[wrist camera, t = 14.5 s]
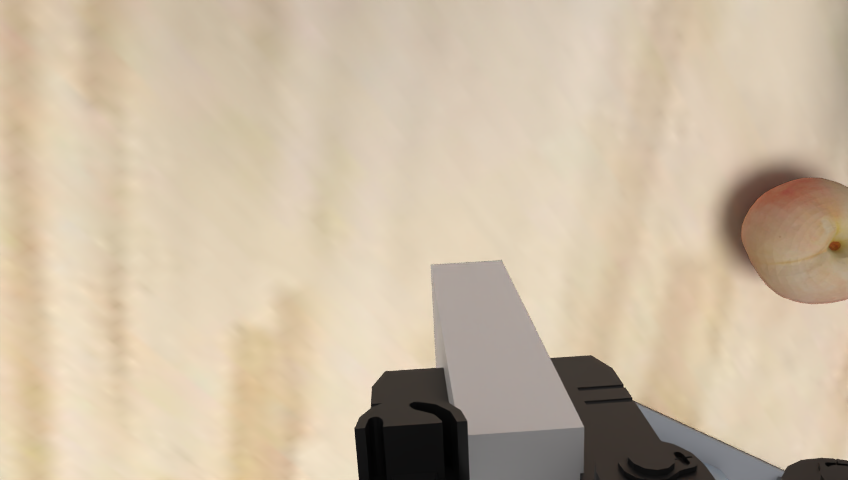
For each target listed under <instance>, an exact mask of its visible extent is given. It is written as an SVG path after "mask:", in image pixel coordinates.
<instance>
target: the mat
mask: <svg viewBox="0 0 848 480" xmlns="http://www.w3.org/2000/svg"><path fill="white" fill-rule="evenodd" d="M635 403H636V404H637V406H638V407H639V409H640V410H641V412H642V413H643V415H644V416H645V418H646V419H647V421H648V422H649V424H650V425H651V427H652V428H653V430H654V431H655V433H656V434H657V436H658V437H659V439H660V440H661V441H664V442H668V443H672V444H675V445H677V446H679V447H681V448H683V449H685V450H687V451H689V452H691V453H693V454H694V455H695V456H696V457H697V458H698V459H699V460H700V461H702V462H704V463H706V464H708V465H711V466H713V467H715V468H717V469H719V470H721V471H722V472H723V473H724V475H725V476H726V477H727V479H728V480H781V477H782V475H783V474H784V472H785V471H784V470H782V469H780V468H777V467H775V466H773V465H771V464H769V463H767V462H764V461H762V460H760V459H758V458H756V457H754V456H751V455H749V454H747V453H745V452H743V451H741V450H738V449H736V448H734V447H732V446H730V445H728V444H725V443H723V442H721V441H719V440H717V439H715V438H712V437H710V436H708V435H706V434H704V433H702V432H699V431H697V430H695V429H693V428H691V427H689V426H686V425H684V424H682V423H680V422H678V421H676V420H673V419H671V418H669V417H667V416H665V415H663V414H660V413H658V412H656V411H654V410H652V409H650V408H647V407H645V406H643V405H641V404H639V403H637V402H635Z"/></svg>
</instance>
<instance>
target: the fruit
mask: <svg viewBox="0 0 848 480" xmlns="http://www.w3.org/2000/svg"><path fill="white" fill-rule="evenodd" d="M741 240H742V243H743V245H744V247H745V250H746V252H747V254H748V257H749V259H750V261H751V263H752V265H753V266H754V268H755V270H756V271H757V273H758V275H759V276H760V277H761V279H762V280H763V281H764V282H765V284H766V285H767V286H768V287H769V288H770V289H772V290H773V291H774V292H775V293H777V294H778V295H780V296H782V297H784V298H787V299H789V300H792V301H796V302H800V303H808V304H823V303H833V302H838V301H843V300H846V299H848V187H846V186H844V185H842V184H840V183H837V182H834V181H830V180H826V179H823V178H800V179H796V180H792V181H789V182H786V183H784V184H781V185H779V186H776V187H774V188H773V189H771V190H769V191H767V192H765V193H764V194H763V195H762V196H760V197H759V198H758V199H757V200H756V201H755V203H754V204H753V205H752V206H751V208H750V209H749V211H748V213H747V214H746V216H745V218H744V221H743V224H742V228H741Z"/></svg>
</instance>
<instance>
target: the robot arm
mask: <svg viewBox="0 0 848 480" xmlns="http://www.w3.org/2000/svg"><path fill="white" fill-rule="evenodd" d="M431 279H432V298H433V318H434V337H435V356H436V368H429V369H414V370H399V371H385V372H384V373H383V375H382V376H381V377H380V378H379V379H378V380H377V382H376V383H375V384H374V385H373V386H372V397H371V409H369V410H368V411H367V412H366V413H364V414H363V415H362V416H361V417H360V418H359V420H358V422H357V424H356V427H355V440H356V451H357V462H358V474H359V480H715V478H714V477H713V475H712V474H711V473H710V471H709V470H708V469H707V467H706V466H705V464H703V463H702V462H701V461H700V460H699V459H698V458H697V457H696V456H695V455H694V454H693V453H691V452H689V451H687V450H685V449H683V448H681V447H679V446H677V445H675V444H672V443H668V442H664V441H661V440H660V439H659V437H658V436H657V434H656V433H655V431H654V430H653V428H652V427H651V425H650V424H649V422H648V421H647V419H646V418H645V416H644V415H643V413H642V412H641V410H640V409H639V407H638V406H637V404H636V403H635V401H632V397H631V395H630V394H629V392H628V391H627V389H626V388H624V387H623V383H622V382H621V380H620V379H619V377H618V376H617V374H616V373H615V371H614V370H613V368H611V367H609V366H608V365H606V364H604V363H603V362H601V361H600V360H598V359H596V358H595V357H593V356H591V355H590V356H575V357H560V358H550V357H549V355H548V353H547V351H546V349H545V347H544V345H543V343H542V341H541V339H540V337H539V335H538V333H537V331H536V328H535V326H534V324H533V322H532V320H531V318H530V316H529V314H528V312H527V310H526V308H525V306H524V304H523V302H522V300H521V298H520V296H519V294H518V292H517V290H516V288H515V286H514V284H513V282H512V280H511V278H510V276H509V274H508V272H507V270H506V268H505V266H504V264H503V262H502V260H498V261H482V262H466V263H450V264H434V265H431ZM781 480H848V461H846V460H840V459H837V460H835V459H830V458H817V459H807V460H800V461H798V462H796V463H794V464H792V465H790V466H788V467H787V468H786V470H785V472H784V474H783V475H782V477H781Z"/></svg>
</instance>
